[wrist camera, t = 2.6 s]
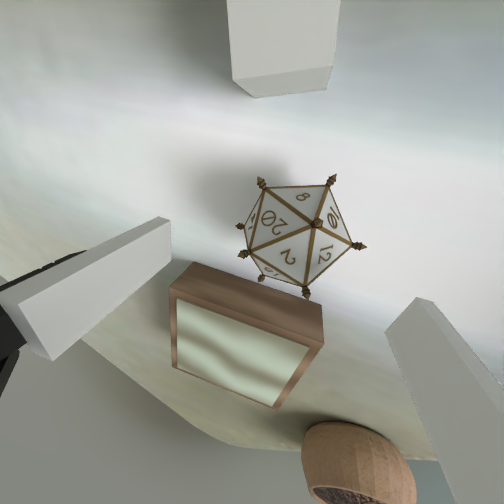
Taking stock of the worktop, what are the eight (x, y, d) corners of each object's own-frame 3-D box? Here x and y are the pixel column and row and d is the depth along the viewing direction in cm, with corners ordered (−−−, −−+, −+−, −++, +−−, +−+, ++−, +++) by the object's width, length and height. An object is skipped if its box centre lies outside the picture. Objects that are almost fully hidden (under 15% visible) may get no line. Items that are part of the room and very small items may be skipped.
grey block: (252, -3, 12) (220, -80, 8) (337, -25, 11) (355, -132, 7) (255, 98, 14) (232, 80, 10) (325, 89, 13) (333, 65, 9)
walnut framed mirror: (193, 261, 24) (167, 288, 19) (321, 305, 22) (324, 345, 18) (190, 337, 32) (171, 368, 28) (281, 373, 30) (277, 412, 26)
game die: (280, 212, 22) (198, 236, 17) (331, 142, 15) (218, 144, 10) (329, 280, 19) (250, 333, 14) (417, 232, 12) (326, 301, 7)
